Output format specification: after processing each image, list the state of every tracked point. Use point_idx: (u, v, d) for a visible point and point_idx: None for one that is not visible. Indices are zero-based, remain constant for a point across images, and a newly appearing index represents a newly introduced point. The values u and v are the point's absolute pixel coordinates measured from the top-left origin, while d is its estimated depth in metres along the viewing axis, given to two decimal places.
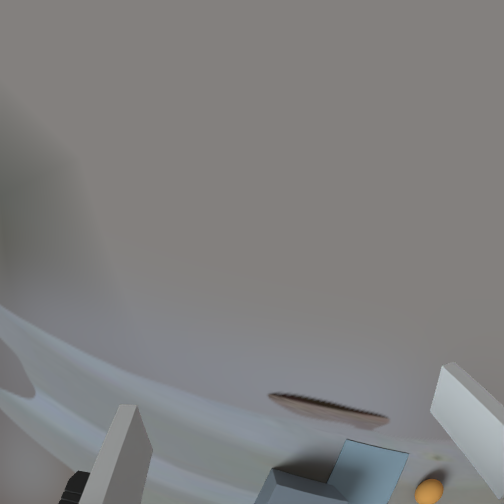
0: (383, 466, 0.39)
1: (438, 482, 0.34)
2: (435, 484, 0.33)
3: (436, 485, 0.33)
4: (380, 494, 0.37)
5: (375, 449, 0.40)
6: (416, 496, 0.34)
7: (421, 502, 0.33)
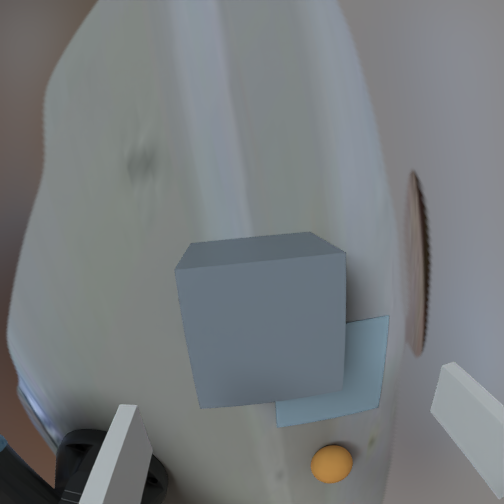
0: (358, 387, 0.31)
1: (351, 467, 0.30)
2: (350, 467, 0.29)
3: (349, 469, 0.29)
4: (312, 407, 0.31)
5: (379, 362, 0.31)
6: (324, 454, 0.30)
7: (320, 466, 0.29)
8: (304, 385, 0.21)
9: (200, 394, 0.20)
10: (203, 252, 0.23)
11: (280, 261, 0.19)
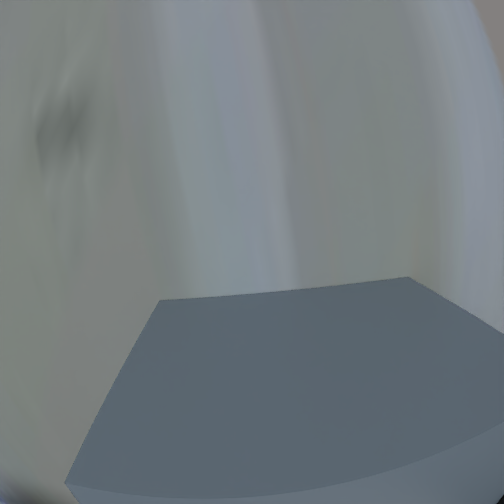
0: None
1: None
2: None
3: None
4: None
5: None
6: None
7: None
8: None
9: None
10: (177, 359, 0.08)
11: (446, 454, 0.04)
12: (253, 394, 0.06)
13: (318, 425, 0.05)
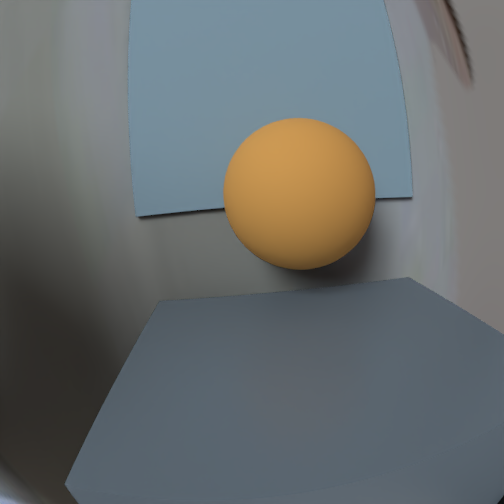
0: (347, 109, 0.12)
1: None
2: None
3: None
4: (229, 156, 0.12)
5: (387, 62, 0.12)
6: None
7: None
8: None
9: None
10: (177, 359, 0.08)
11: (447, 455, 0.04)
12: (253, 395, 0.06)
13: (318, 426, 0.05)
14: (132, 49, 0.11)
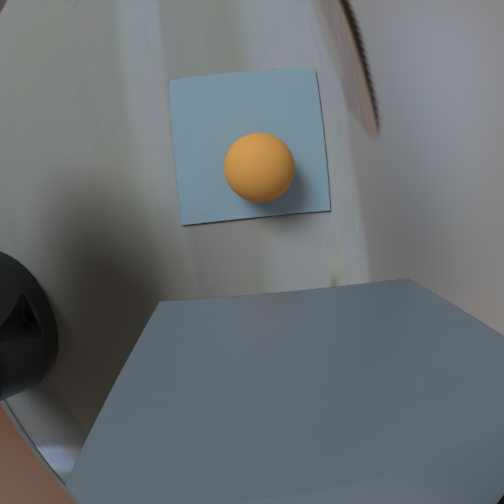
0: None
1: None
2: None
3: None
4: (229, 193, 0.25)
5: (316, 132, 0.24)
6: (246, 192, 0.21)
7: (236, 193, 0.23)
8: None
9: None
10: (178, 360, 0.08)
11: (446, 456, 0.04)
12: (253, 396, 0.06)
13: (318, 427, 0.05)
14: (174, 133, 0.24)
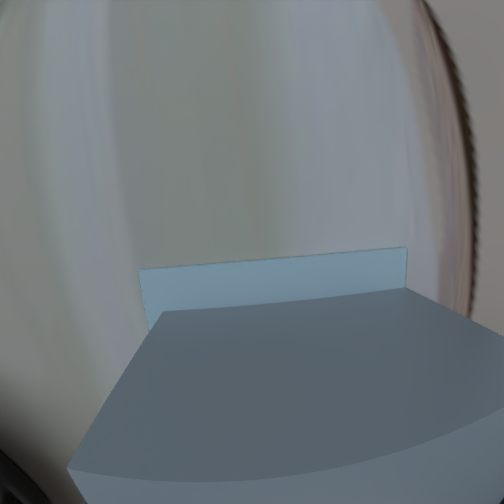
0: None
1: None
2: None
3: None
4: None
5: None
6: None
7: None
8: None
9: None
10: (180, 360, 0.08)
11: (442, 441, 0.04)
12: (252, 390, 0.06)
13: (315, 416, 0.05)
14: None
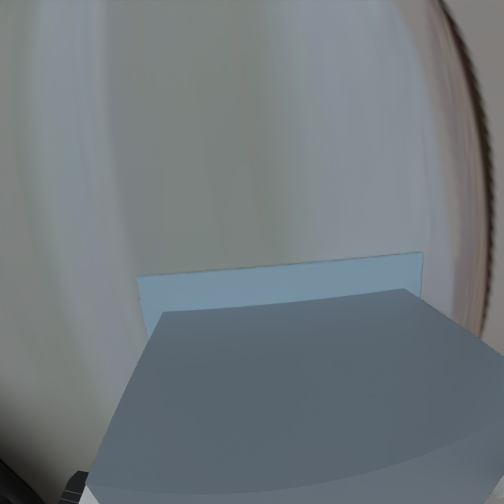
0: None
1: None
2: None
3: None
4: None
5: None
6: None
7: None
8: None
9: None
10: (183, 368, 0.08)
11: (424, 458, 0.04)
12: (252, 401, 0.07)
13: (310, 430, 0.06)
14: None
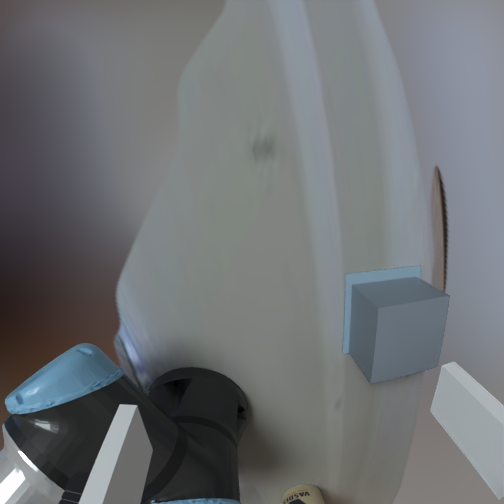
0: None
1: None
2: None
3: None
4: None
5: None
6: None
7: None
8: (421, 364, 0.35)
9: (373, 375, 0.34)
10: (374, 293, 0.37)
11: (424, 301, 0.33)
12: (393, 296, 0.35)
13: (405, 298, 0.34)
14: (346, 307, 0.42)
